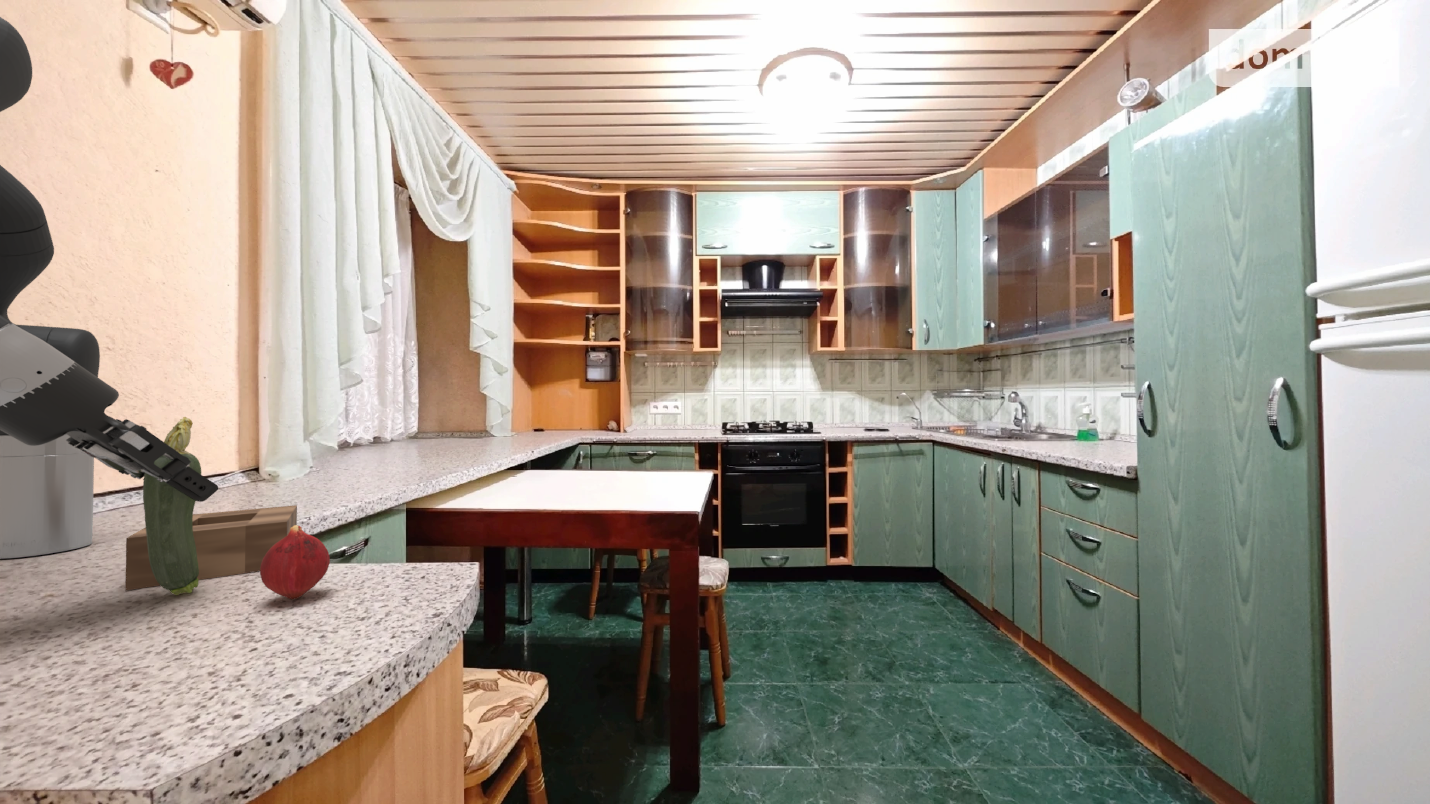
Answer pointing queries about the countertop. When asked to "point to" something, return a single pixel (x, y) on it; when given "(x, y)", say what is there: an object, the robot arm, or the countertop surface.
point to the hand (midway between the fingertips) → (197, 492)
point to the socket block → (218, 543)
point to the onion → (294, 564)
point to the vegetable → (172, 521)
